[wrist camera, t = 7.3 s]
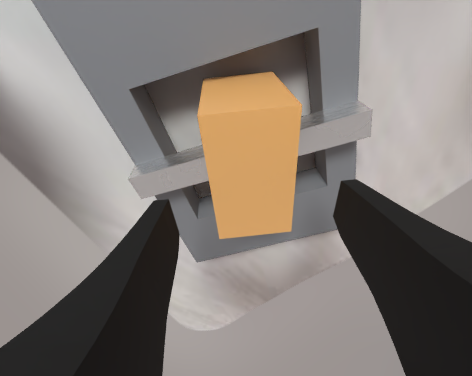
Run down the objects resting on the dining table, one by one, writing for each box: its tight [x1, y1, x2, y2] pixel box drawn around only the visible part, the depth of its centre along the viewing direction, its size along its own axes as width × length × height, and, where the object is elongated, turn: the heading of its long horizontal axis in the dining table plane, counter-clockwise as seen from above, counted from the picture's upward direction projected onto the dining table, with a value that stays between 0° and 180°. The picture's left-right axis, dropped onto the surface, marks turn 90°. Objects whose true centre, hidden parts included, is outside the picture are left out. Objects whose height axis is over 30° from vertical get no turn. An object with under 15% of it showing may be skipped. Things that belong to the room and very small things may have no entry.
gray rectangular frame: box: [32, 0, 361, 262], centre depth 16 cm, size 14×20×2 cm
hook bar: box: [128, 100, 372, 199], centre depth 14 cm, size 14×2×2 cm, turn 106°
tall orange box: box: [197, 72, 302, 239], centre depth 14 cm, size 4×7×6 cm, turn 5°
